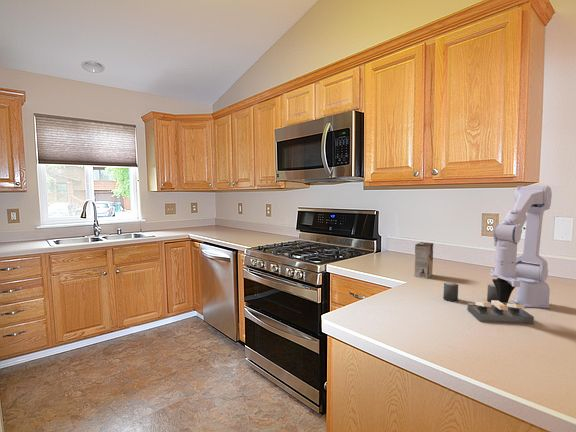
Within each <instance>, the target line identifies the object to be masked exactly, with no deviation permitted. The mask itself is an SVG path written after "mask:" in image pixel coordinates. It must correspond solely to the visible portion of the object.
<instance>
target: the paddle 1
mask: <svg viewBox="0 0 576 432" xmlns="http://www.w3.org/2000/svg"><path fill="white" fill-rule="evenodd" d="M475 304H476V305H479V306H483V307H491V304H492V303H490V302H483V301H476V302H475Z"/></svg>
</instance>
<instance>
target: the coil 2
mask: <svg viewBox="0 0 576 432" xmlns="http://www.w3.org/2000/svg"><path fill="white" fill-rule="evenodd" d="M491 300H496V301H499V299H498V295H497V290H496V287H495V285H494V283H489V284H487V293H486V302H487V303H491ZM491 304H492V303H491Z"/></svg>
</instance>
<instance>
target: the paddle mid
mask: <svg viewBox="0 0 576 432" xmlns="http://www.w3.org/2000/svg"><path fill="white" fill-rule="evenodd" d="M491 304H493V305H494V306H496V307H497V308H498V309H499V310H508V307H507V306H506V305H507V304H504V303H501V302H500V301H496V300H491Z"/></svg>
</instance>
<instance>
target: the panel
mask: <svg viewBox="0 0 576 432" xmlns="http://www.w3.org/2000/svg"><path fill="white" fill-rule="evenodd" d="M505 305H506V306H507V304H505ZM507 307H508V306H507ZM523 309H524V308H513V307H508V310H499V309H498V308H497V307H496V306H494V305H493V304H492V303H491V307H483V306H479V305H476V303H470V302H468V303H467V309H466V310H467V311H468V313H469V314H471V315H472V317H474V318H475V319H476V320H477V321H478V322H481V323H497V324H498V323H499V324H500V323H501V324H502V323H503V324H519V325H520V324H522V325H534V322H535V317H534V316H533V314H531V313H528V312H527V311H525V310H523Z"/></svg>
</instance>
